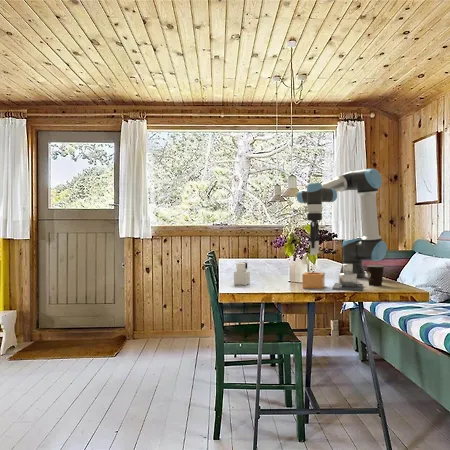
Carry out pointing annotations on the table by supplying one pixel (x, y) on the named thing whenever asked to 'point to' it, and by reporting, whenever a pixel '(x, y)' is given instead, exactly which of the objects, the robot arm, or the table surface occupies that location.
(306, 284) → the orange brown box
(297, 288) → the table surface
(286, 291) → the table surface
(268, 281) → the table surface
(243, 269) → the medicine bottle
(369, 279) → the coffee mug
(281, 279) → the table surface
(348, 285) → the piston stand
